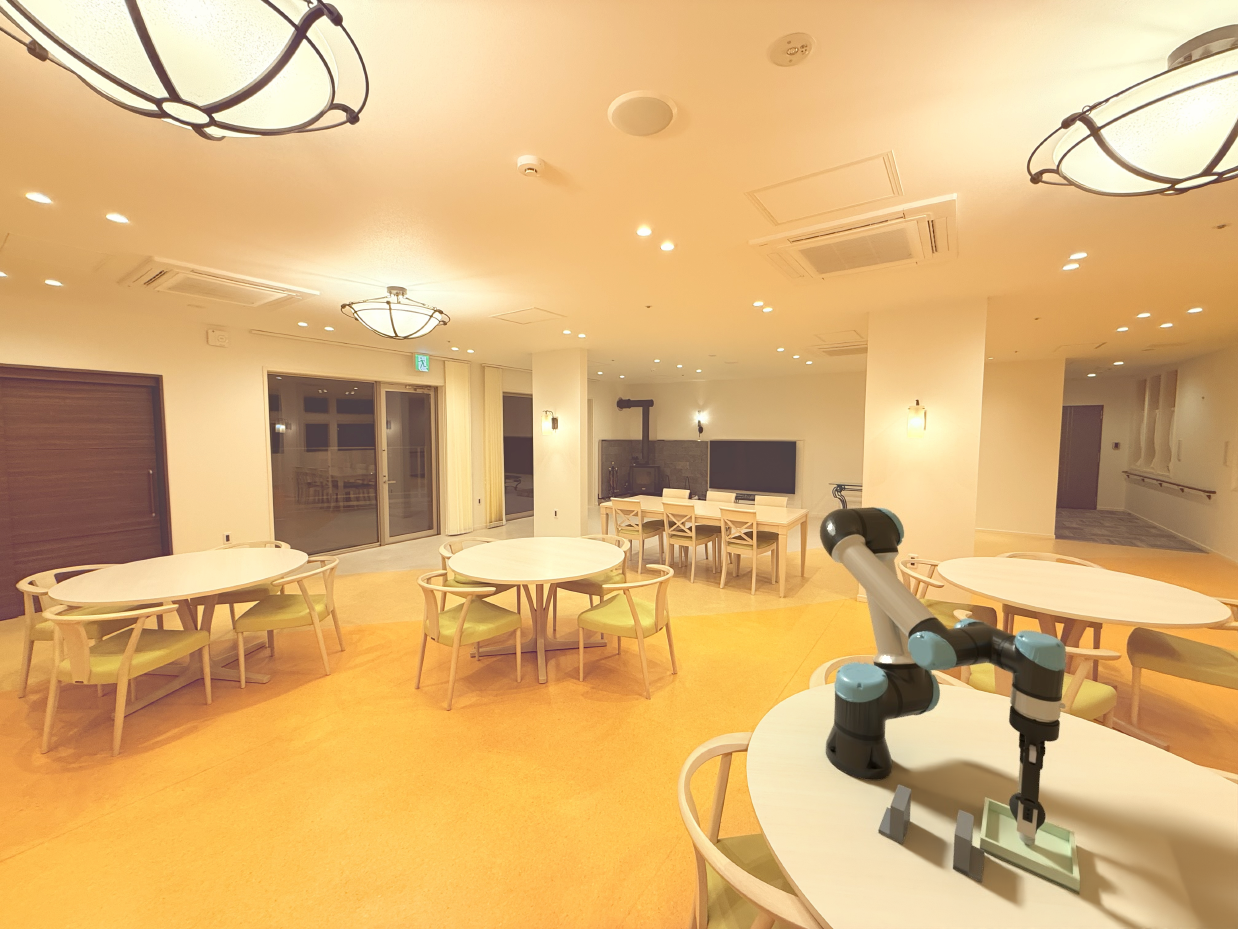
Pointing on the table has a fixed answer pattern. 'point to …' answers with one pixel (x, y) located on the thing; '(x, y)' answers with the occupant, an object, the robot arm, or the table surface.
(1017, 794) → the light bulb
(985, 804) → the tray
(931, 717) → the table surface
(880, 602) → the robot arm
